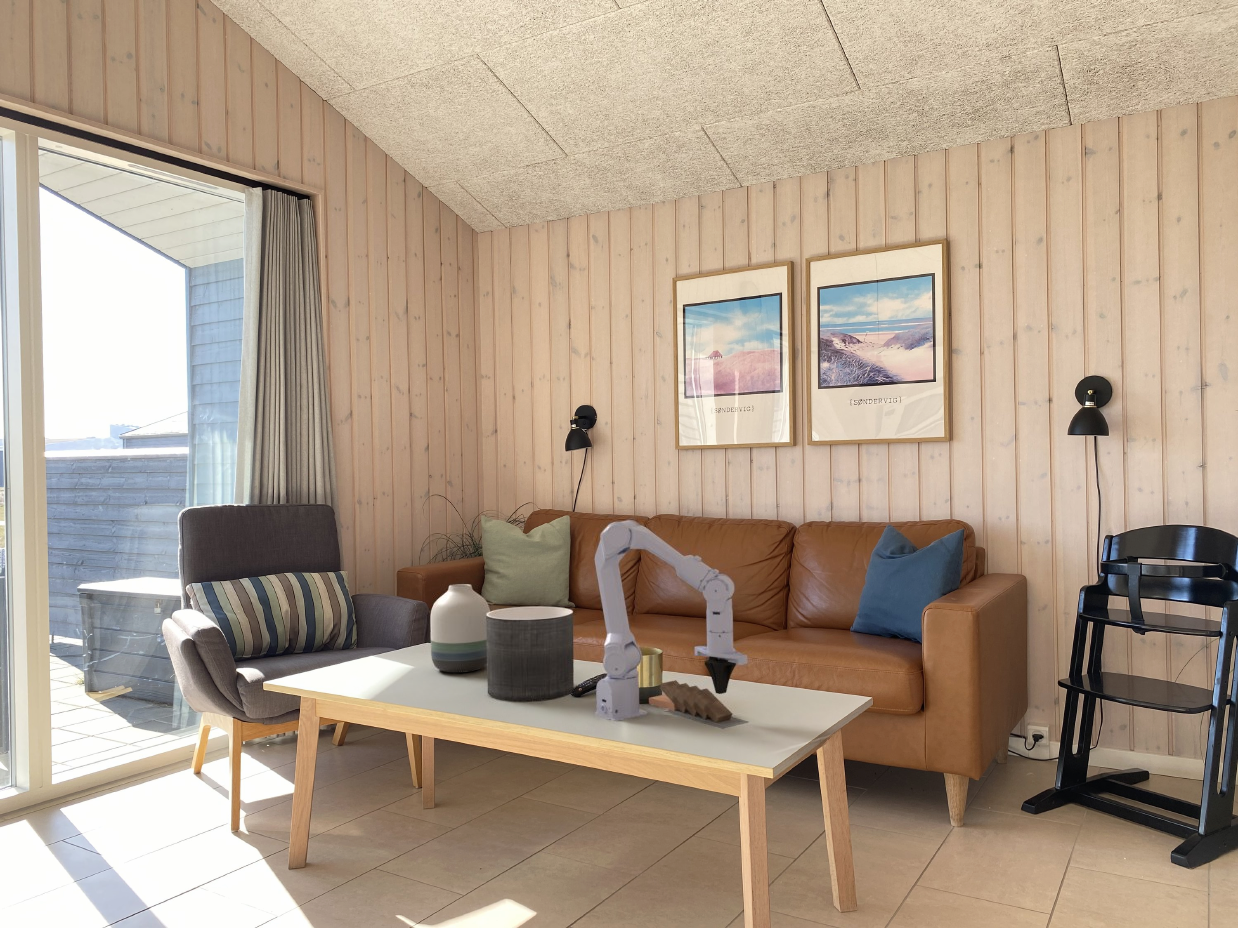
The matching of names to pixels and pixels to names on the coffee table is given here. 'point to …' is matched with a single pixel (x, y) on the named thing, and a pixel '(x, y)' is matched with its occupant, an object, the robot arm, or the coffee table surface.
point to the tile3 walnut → (676, 692)
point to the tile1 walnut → (711, 705)
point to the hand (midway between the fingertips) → (721, 692)
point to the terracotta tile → (663, 702)
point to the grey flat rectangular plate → (699, 718)
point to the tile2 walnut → (687, 694)
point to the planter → (530, 653)
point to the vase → (459, 630)
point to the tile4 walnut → (666, 689)
